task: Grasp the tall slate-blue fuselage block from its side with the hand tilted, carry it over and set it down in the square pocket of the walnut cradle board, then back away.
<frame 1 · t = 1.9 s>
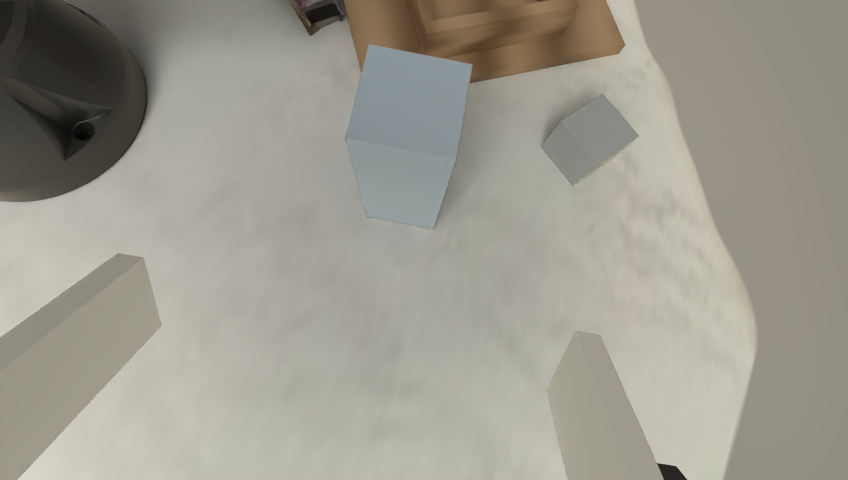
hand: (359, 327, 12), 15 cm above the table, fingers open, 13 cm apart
grey block: (575, 153, 31), on the table
fuselage block: (406, 192, 29), on the table
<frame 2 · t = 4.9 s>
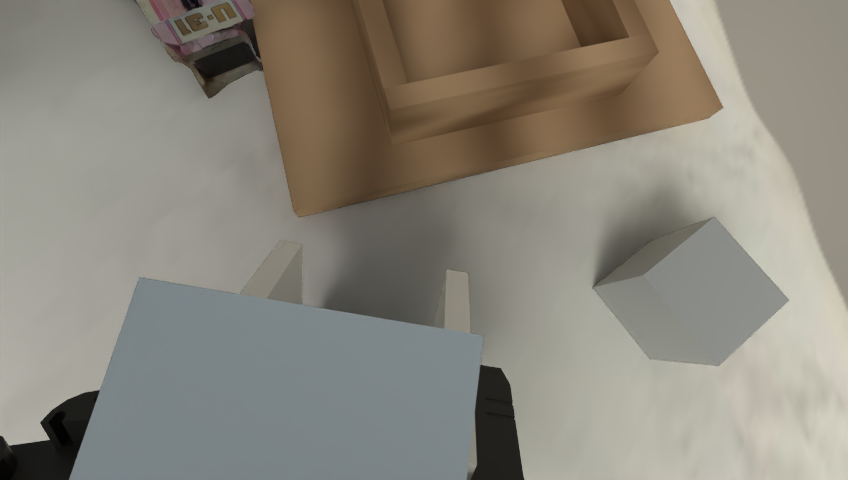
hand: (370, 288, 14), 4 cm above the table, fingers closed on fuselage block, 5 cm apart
grey block: (649, 297, 18), on the table
fuselage block: (360, 384, 17), on the table, touching gripper
cradle: (470, 33, 21), on the table
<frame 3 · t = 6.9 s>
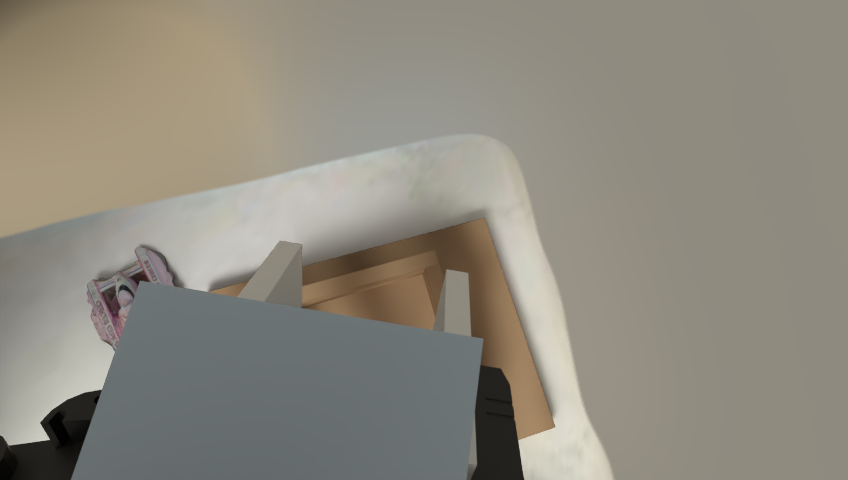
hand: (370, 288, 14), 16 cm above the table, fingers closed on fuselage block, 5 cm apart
fuselage block: (360, 385, 17), point 12 cm above the table, touching gripper
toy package: (168, 334, 29), on the table
cradle: (376, 358, 29), on the table
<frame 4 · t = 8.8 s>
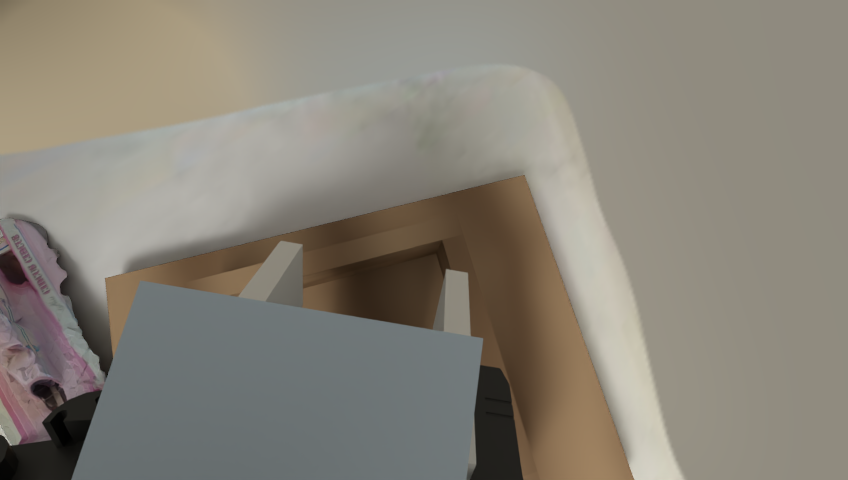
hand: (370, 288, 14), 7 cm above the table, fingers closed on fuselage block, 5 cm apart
fuselage block: (360, 385, 17), point 3 cm above the table, touching gripper
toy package: (60, 339, 20), on the table
cradle: (366, 376, 19), on the table
when the fingers open (7 cm above the table, at t = 8.9 s): fuselage block drops 2 cm, resting on cradle.
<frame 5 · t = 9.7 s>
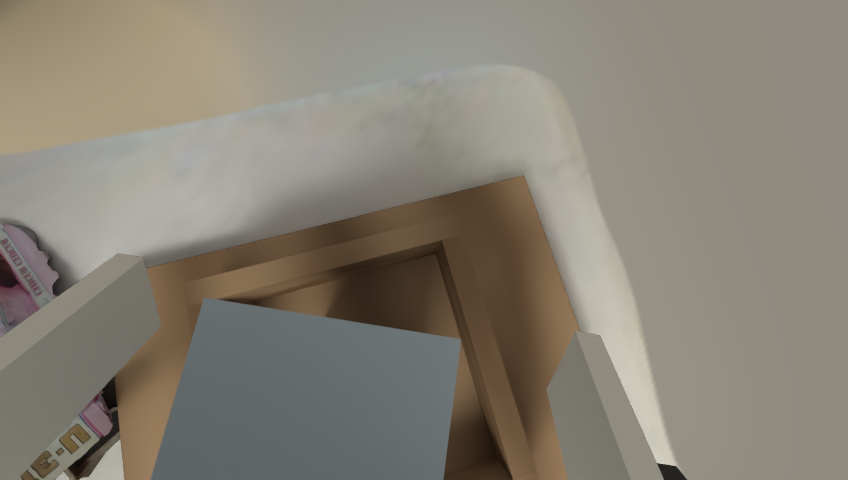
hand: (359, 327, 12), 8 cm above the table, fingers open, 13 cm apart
fuselage block: (364, 381, 18), point 1 cm above the table, touching cradle
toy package: (54, 341, 20), on the table
cradle: (366, 376, 19), on the table
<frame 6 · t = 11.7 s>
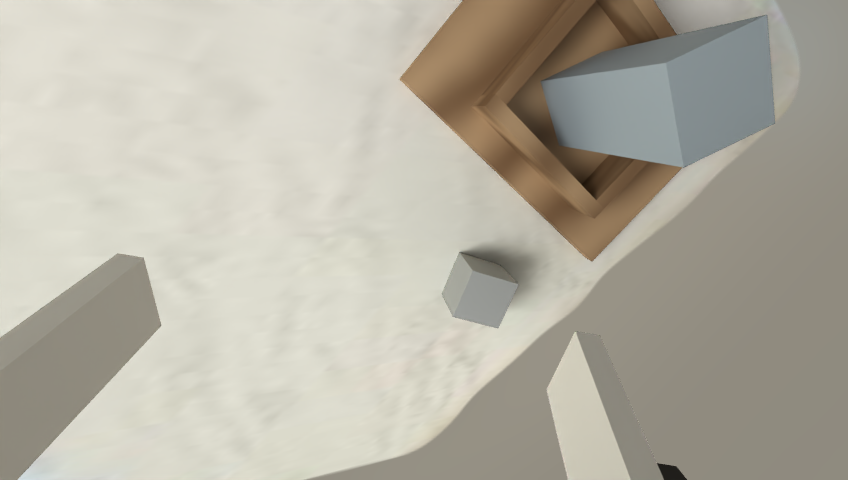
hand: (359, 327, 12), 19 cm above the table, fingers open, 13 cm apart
grey block: (470, 279, 33), on the table
fuselage block: (579, 100, 29), point 1 cm above the table, touching cradle
cradle: (573, 99, 30), on the table
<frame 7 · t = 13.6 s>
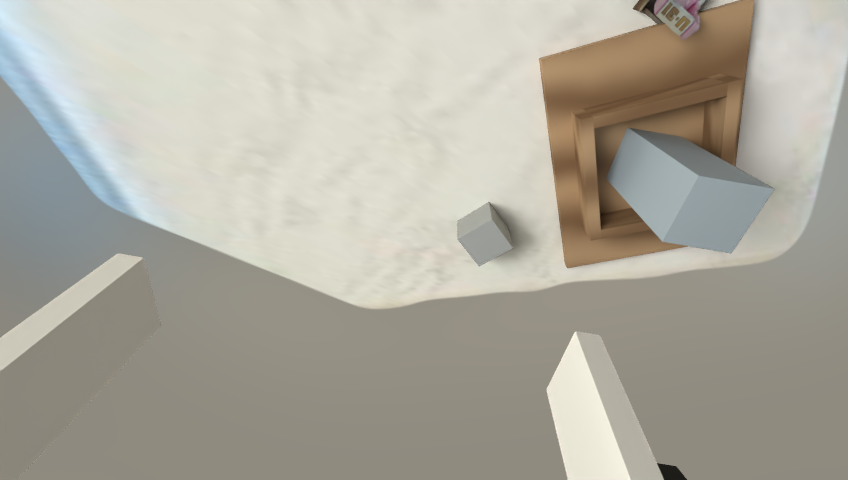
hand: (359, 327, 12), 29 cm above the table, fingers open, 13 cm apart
grey block: (482, 224, 42), on the table
fuselage block: (642, 158, 36), point 1 cm above the table, touching cradle
cradle: (639, 154, 37), on the table
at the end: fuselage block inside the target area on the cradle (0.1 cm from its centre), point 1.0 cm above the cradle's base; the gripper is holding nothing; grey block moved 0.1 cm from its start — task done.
